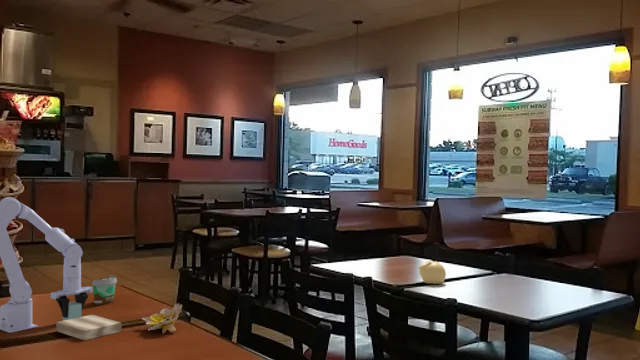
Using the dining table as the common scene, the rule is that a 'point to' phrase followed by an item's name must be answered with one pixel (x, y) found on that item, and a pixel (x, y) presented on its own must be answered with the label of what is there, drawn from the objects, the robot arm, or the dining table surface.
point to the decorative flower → (164, 319)
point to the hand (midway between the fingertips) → (72, 316)
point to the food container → (104, 290)
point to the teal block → (74, 310)
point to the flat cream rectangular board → (88, 327)
